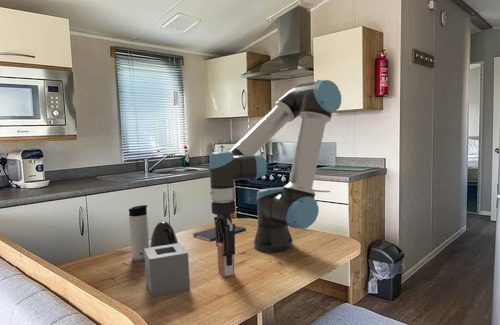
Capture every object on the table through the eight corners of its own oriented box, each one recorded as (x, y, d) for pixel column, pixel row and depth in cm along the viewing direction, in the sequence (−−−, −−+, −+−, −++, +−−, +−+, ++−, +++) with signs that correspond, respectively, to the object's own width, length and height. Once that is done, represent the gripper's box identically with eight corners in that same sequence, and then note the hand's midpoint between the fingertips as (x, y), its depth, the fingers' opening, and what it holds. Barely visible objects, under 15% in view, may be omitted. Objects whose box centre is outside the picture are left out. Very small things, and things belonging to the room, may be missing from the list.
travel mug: (145, 262, 135) (142, 207, 133) (128, 261, 136) (125, 207, 134) (153, 256, 141) (150, 203, 139) (137, 255, 142) (133, 203, 141)
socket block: (181, 276, 120) (179, 242, 119) (189, 289, 110) (187, 252, 109) (146, 283, 116) (144, 248, 115) (151, 297, 106) (149, 259, 105)
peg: (230, 270, 124) (228, 241, 123) (234, 275, 120) (233, 244, 119) (218, 273, 122) (217, 243, 121) (222, 277, 118) (221, 246, 117)
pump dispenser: (154, 271, 125) (151, 227, 124) (147, 262, 134) (144, 220, 133) (184, 265, 130) (181, 222, 129) (175, 257, 139) (173, 216, 138)
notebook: (210, 242, 157) (245, 231, 173) (210, 239, 157) (245, 228, 173) (191, 237, 166) (227, 227, 182) (191, 233, 166) (226, 223, 181)
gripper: (204, 197, 125) (207, 265, 127) (220, 206, 110) (224, 284, 112) (225, 195, 128) (228, 261, 130) (244, 203, 112) (247, 279, 115)
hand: (226, 272), depth 121 cm, fingers closed on peg, 4 cm apart
